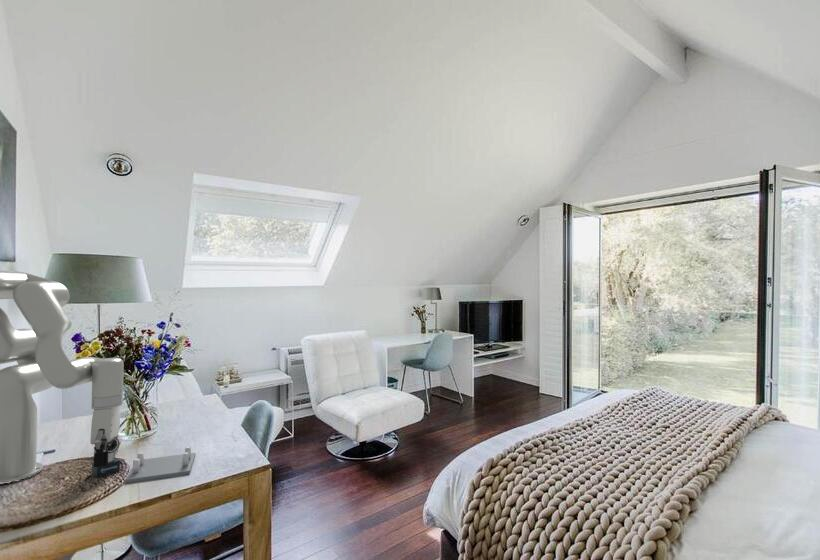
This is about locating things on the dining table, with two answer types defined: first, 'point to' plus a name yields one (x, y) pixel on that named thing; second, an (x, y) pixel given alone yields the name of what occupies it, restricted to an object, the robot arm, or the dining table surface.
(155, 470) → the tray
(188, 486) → the dining table surface
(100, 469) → the watch
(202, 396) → the dining table surface
